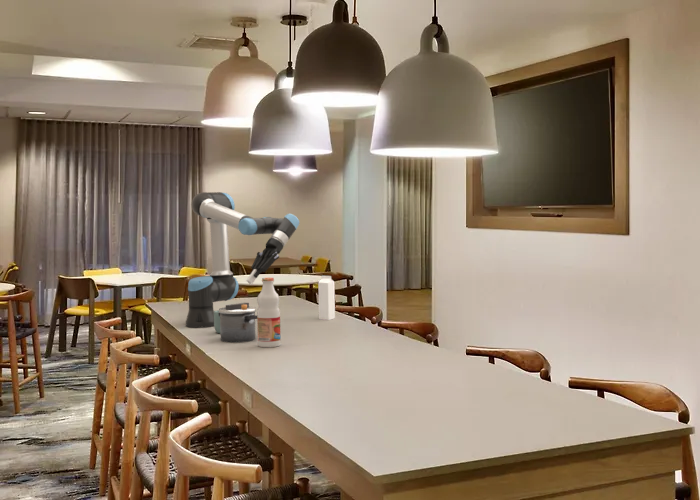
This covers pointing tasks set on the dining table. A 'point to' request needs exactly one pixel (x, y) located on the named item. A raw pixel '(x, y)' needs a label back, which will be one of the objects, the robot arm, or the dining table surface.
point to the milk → (326, 298)
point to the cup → (217, 321)
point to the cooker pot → (237, 327)
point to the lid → (237, 309)
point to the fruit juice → (268, 315)
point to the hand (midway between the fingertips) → (249, 282)
